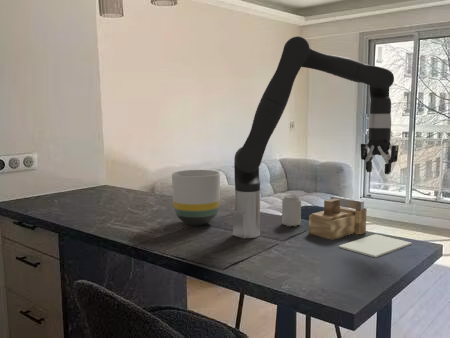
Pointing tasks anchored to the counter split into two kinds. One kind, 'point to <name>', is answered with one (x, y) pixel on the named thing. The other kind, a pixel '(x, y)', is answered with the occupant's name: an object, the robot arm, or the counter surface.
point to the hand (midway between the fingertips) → (378, 172)
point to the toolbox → (338, 226)
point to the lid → (333, 210)
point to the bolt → (350, 202)
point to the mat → (375, 245)
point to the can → (291, 210)
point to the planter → (196, 195)
